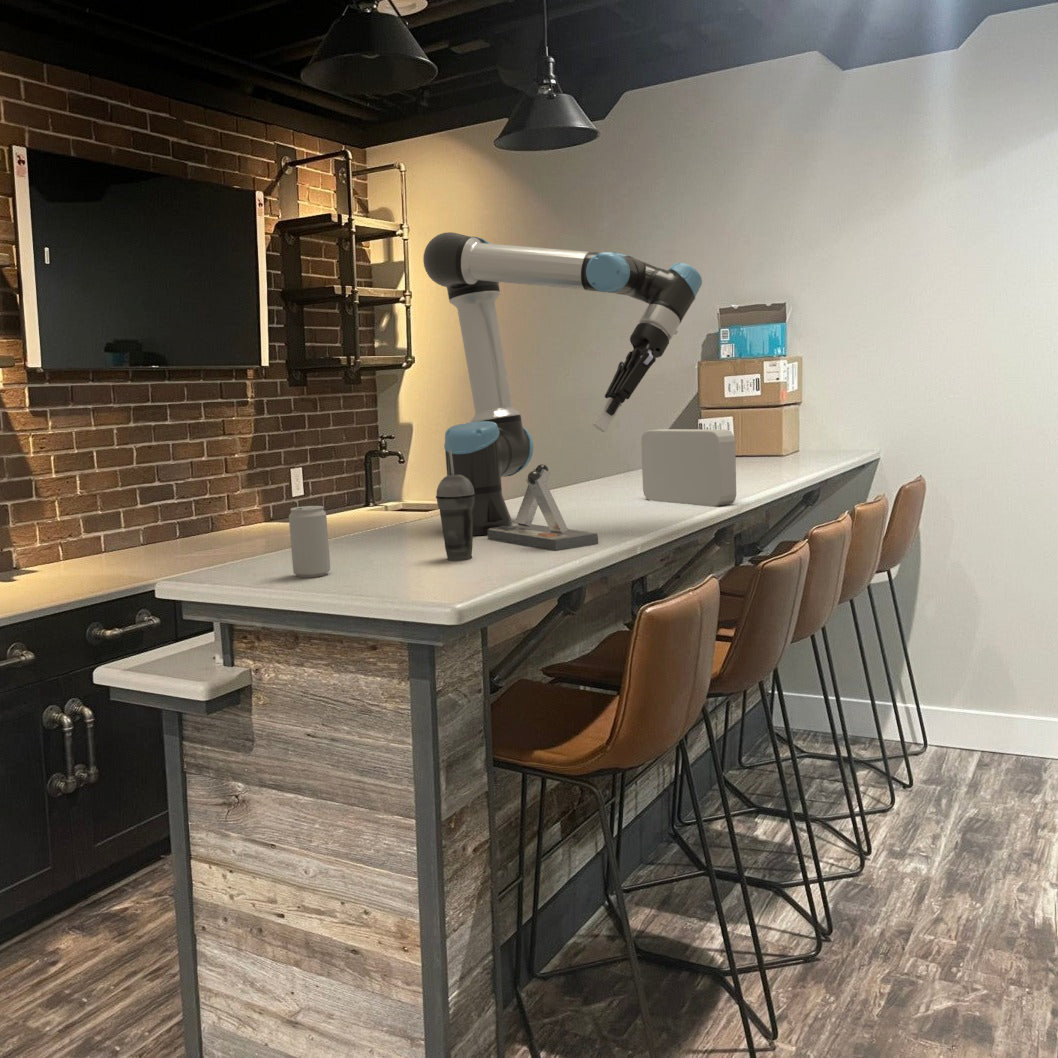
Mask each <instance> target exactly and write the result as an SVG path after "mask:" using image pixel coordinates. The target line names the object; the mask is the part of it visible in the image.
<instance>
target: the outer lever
mask: <svg viewBox="0 0 1058 1058" xmlns="http://www.w3.org/2000/svg"><path fill="white" fill-rule="evenodd" d="M525 480H526V483H527V484H528V485H529V487H530V489H531V491H532V493H533V495H534V497H535V499H536V501H537V503H538V507H539V509H540V510H539V511H540V512H541V514H542V516H543V518H544V520H545V522H546V524H547V526H548V527H549V528H550V531H551V532H552V533H559V534H563V533H564V532H565V531H567V530H568V527H567V524H566V522H565V520H564V517H563V515H562V513H561V511H560V510H559V507H558V505H557V503H556V500H555V498H554V496H553V494H552V492H551V490H550V488H549V486H548V484H547V482H546V481H545V479H544V477H543V476H541V474H540V473H539V472H537V471H534V470H532V471H530V472H529V473H528V474H527V478H526V479H525ZM528 485H527V486H528Z"/></svg>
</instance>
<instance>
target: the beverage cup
mask: <svg viewBox="0 0 1058 1058" xmlns="http://www.w3.org/2000/svg"><path fill="white" fill-rule="evenodd" d="M449 456H450V465H451V474H452V475H448V476H447V475H446V476H445V477H444V478H442V479H441V480H440V482H439V484H438V486H437V487H436V488H437V489H436V495H435V499H436V503H437V506H438V509H439V515H440V521H441V522H440V523H441V528H442V534H443V541H444V547H445V553H446V556H447V557H446V559H447V560H448V561H454V562H455V561H457V562H458V561H466V560H467V561H468V560H471V559H473V558H472V557H473V555H472V554H473V545H474V543H473V536H474V535H473V507H474V502H475V493H474V488H473V485H472V483H471V482H470V481H469V480H468V479H467V478H466V477H465V476H463V475H460V474H454V468H453V459H452V450H449Z"/></svg>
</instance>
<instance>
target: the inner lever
mask: <svg viewBox="0 0 1058 1058" xmlns="http://www.w3.org/2000/svg"><path fill="white" fill-rule="evenodd" d="M533 471H537V472H539V473H540V474H541V476H543V477H544V479H545V481H546V483H547V482H548V480H549V477H550V473H551V472H549V467H548V466H547V464H543V463H542V464H539V465H537V467H536V468H533ZM538 507H539V505H538V503H537V501H536V499H535V497H534V495H533V493H532V491H531V489H530V487H529V485H527V488H526V491H525V492H524V495H523V499H522V501H521V503H520V506H519V509H518V512H517V515H516V518H515V521H514V524H516V525H521V526H528V527H530V526H531V524H533V520H534V519H535V516H536V515H535V514H536V512H537V510H538Z"/></svg>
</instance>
